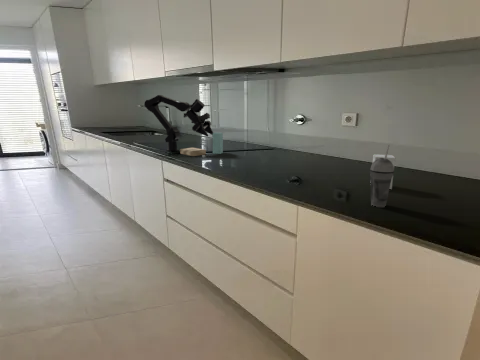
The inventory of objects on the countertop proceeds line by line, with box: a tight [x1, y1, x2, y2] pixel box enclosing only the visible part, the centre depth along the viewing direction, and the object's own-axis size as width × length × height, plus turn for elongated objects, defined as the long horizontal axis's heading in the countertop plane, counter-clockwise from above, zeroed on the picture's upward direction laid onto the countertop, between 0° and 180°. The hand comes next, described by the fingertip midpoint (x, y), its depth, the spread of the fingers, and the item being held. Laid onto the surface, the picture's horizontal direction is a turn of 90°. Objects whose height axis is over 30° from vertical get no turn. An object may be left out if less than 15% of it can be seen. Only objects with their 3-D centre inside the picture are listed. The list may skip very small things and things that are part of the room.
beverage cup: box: [369, 144, 395, 208], centre depth 106 cm, size 7×7×20 cm
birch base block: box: [179, 147, 207, 157], centre depth 212 cm, size 14×10×3 cm
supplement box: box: [372, 153, 396, 190], centre depth 130 cm, size 7×7×13 cm
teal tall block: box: [212, 132, 224, 155], centre depth 214 cm, size 5×5×13 cm
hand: (210, 135), depth 214 cm, fingers open, 9 cm apart
